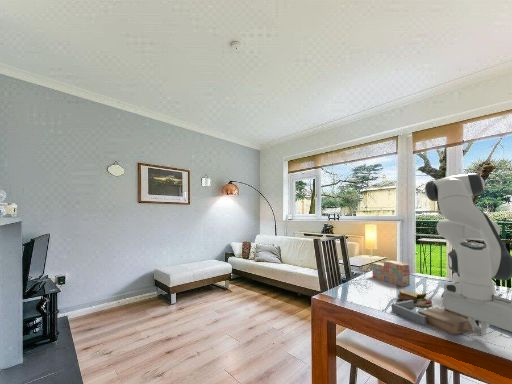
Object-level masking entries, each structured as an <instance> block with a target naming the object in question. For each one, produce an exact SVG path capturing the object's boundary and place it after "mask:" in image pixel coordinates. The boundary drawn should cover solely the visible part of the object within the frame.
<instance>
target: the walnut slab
mask: <svg viewBox="0 0 512 384" xmlns="http://www.w3.org/2000/svg"><path fill="white" fill-rule="evenodd" d="M417 313H419V314H421V315H424V316H426V319H427V325H428V326H431V327H432V328H434V329H437V330H439V331H442V332H444V331H445V332H444V333H446V332H447V334H449V335H451V334H452V336H455V334H456V335H459V334H462V333H467V332H470V331H473V329H472V325H471V324H470V322H469V321H468V318H466V317H463V316H460V315H458V314H455V313H452V312H449V311H446V310H445V309H443V308H440V307H437V306H436V307H433V308H427V309H422V310H418V312H417ZM458 333H459V334H458Z"/></svg>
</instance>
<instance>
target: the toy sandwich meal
mask: <svg viewBox="0 0 512 384" xmlns="http://www.w3.org/2000/svg"><path fill="white" fill-rule="evenodd" d="M426 296H427V293H416V292H413V291H409V290H406V289H403V288H402V289H401V288H400V289H399V293H398V295H397V297H398V299H399V300H401V301H402V302H403V301H408V300H413V301H414V307H419V308H420V307H421V308H426V307H430V306H432V305H433V300H432V299H428V298H426Z"/></svg>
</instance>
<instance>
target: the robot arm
mask: <svg viewBox="0 0 512 384" xmlns="http://www.w3.org/2000/svg"><path fill="white" fill-rule="evenodd" d="M485 187H486V183H485V180H484V178H483V177H482V176H481V175H480V174H478V173H477V172H473V173H472V172H471V173H469V172H468V173H466V174H457V175H450V176H445V177H442V178H438V179H436V180H434V179H432V180H431V181H428V182H426V183H425V187H424V194H425V196H426V197H427V198H428V200H429V201H432V202H438V207H439V212H440V214H441V215H442V217H443V219H440V220H439V221H438V222H437V224H436V232H437V233H438V235H440V236H441V237H442V238H444V240H446V241H447V242H448V243H449V244H450V246H451V248H452V249H451V251H449V253H447V260H448V264H447V265H448V268H449V269H450V270H451V271H452V272H454V273H452V280H451V281H452V282H449V283H444V284H443V289H444V291H443V292H442V293H443V297H442V306H443V308H444V310H445V309H447V310H450V311H453V312H455V313H458V314H461V315H464V316H467V317H468V321H469V322H470V324H471V325H472V332H474V333H475V334H479V335H481V336H486V335H487V329H488V328H489V327H490V326H494V327H496V328H499V329H503V330H505V331H508V332H511V333H512V299H509V298H506V297H502V296H497V295H498V294H500V293H502V292H501V291H500V290H496V287H495V285H496V284H495V282H494V281H493V279H494V280H499V281H504V282H506V281H507V280H510V279H512V254H511V253H510V252H509V251H508V249H507V247H506V245H505V244H504V242H503V240H502V238H501V237H500V234H501V229H500V226H499V224H498V223H497V222H496V221H494V220H492V219H490V217H489V216H488V215H487V213H485V212H484V211H481V210H479V208H477V207H476V206H475V204H474V201H473V197H476V196H479V195H482V194H483V193H484V192H485V191H484V190H485ZM467 240H473V241H467ZM476 241H483V242H484V244H483V243H479V242H476ZM475 320H479V322H480V325H482V326H479V327H478V326H477V324H476V322H475Z"/></svg>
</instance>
